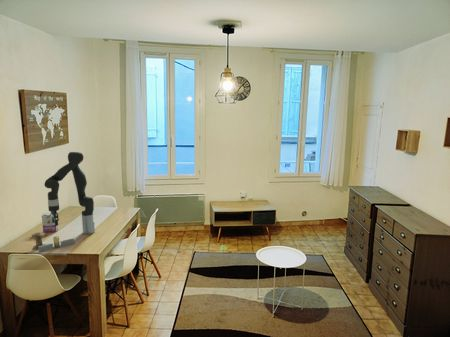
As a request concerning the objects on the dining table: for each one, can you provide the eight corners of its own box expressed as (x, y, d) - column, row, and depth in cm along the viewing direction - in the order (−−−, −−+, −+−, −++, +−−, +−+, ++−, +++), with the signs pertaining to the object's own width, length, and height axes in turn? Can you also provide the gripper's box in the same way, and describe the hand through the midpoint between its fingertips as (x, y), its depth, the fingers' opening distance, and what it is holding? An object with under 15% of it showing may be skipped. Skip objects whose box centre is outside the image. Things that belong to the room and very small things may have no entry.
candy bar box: (58, 230, 296) (56, 213, 293) (56, 232, 292) (54, 214, 289) (45, 230, 295) (43, 213, 292) (43, 232, 290) (41, 215, 287)
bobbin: (44, 244, 266) (43, 231, 264) (47, 247, 259) (45, 234, 257) (32, 246, 260) (30, 234, 258) (34, 250, 253) (33, 237, 251)
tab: (59, 245, 263) (58, 235, 262) (60, 246, 260) (59, 237, 259) (53, 246, 261) (52, 237, 259) (54, 248, 258) (54, 238, 256)
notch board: (73, 242, 270) (73, 238, 269) (74, 243, 268) (74, 239, 267) (38, 251, 253) (38, 246, 252) (39, 251, 252) (38, 247, 251)
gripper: (61, 205, 251) (62, 225, 254) (56, 201, 262) (58, 220, 265) (50, 207, 246) (52, 227, 249) (46, 203, 257) (47, 222, 260)
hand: (55, 223), depth 257 cm, fingers open, 8 cm apart
